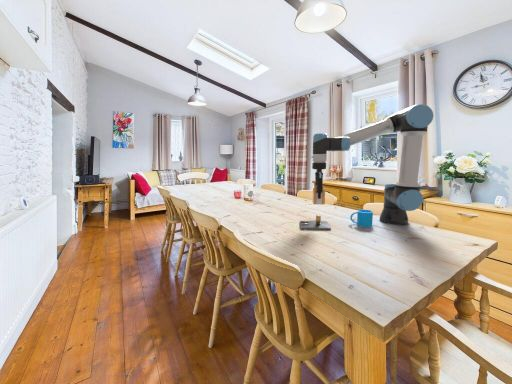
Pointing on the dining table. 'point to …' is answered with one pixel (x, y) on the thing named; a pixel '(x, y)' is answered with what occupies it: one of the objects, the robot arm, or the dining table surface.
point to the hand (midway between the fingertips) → (318, 202)
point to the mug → (363, 218)
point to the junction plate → (315, 224)
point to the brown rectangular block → (316, 195)
